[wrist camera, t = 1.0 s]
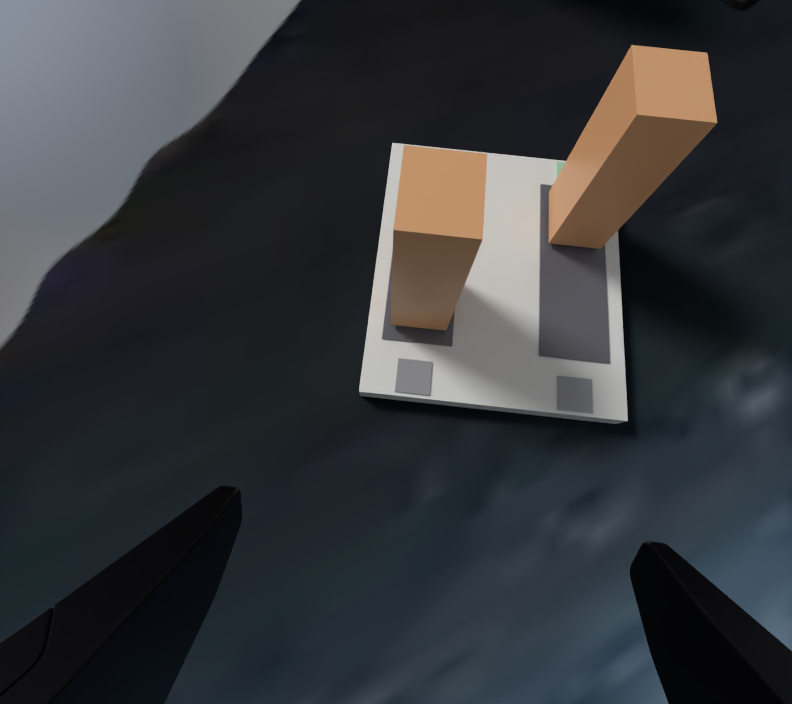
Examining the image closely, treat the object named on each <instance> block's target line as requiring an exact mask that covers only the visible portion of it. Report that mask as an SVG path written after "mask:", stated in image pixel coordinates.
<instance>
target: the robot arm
mask: <svg viewBox="0 0 792 704" xmlns="http://www.w3.org/2000/svg"><path fill="white" fill-rule="evenodd" d="M241 521H242V506H241V493H240V490H239V489H238V488H237V487H229V486H220V487H218V488H216V489H215V490H213V491H212V492H211V493H209V494H208V495H206V496H205V497H204V498H202V499H201V500H199V501H198V502H197V503H195V504H194V505H193V506H191V507H190V508H188V509H187V510H186V511H184V512H183V513H181V514H180V515H179V516H177V517H176V518H174V519H173V520H172V521H170V522H169V523H168V524H166V525H165V526H163V527H162V528H161V529H159V530H158V531H156V532H155V533H154V534H152V535H151V536H149V537H148V538H147V539H145V540H144V541H143V542H141V543H140V544H138V545H137V546H136V547H134V548H133V549H131V550H130V551H129V552H127V553H126V554H124V555H123V556H122V557H120V558H119V559H118V560H116V561H115V562H113V563H112V564H111V565H109V566H108V567H106V568H105V569H104V570H102V571H101V572H99V573H98V574H97V575H95V576H94V577H93V578H91V579H90V580H88V581H87V582H86V583H84V584H83V585H81V586H80V587H79V588H77V589H76V590H74V591H73V592H72V593H70V594H69V595H68V596H66V597H65V598H63V599H62V600H61V601H59V602H58V603H56V604H55V605H54V608H50V609H48V610H46V611H45V612H44V613H42V614H41V615H40V616H38V617H37V618H35V619H34V620H33V621H31V622H30V623H28V624H27V625H26V626H24V627H23V628H21V629H20V630H18V631H17V632H16V633H14V634H13V635H11V636H10V637H8V638H7V639H5V640H4V641H3V642H1V643H0V704H164V703H165V701H166V699H167V697H168V695H169V692H170V690H171V688H172V686H173V684H174V682H175V680H176V678H177V676H178V674H179V671H180V669H181V667H182V665H183V663H184V661H185V659H186V657H187V655H188V653H189V650H190V648H191V646H192V644H193V642H194V640H195V638H196V636H197V634H198V632H199V629H200V627H201V625H202V623H203V621H204V619H205V617H206V615H207V613H208V611H209V609H210V606H211V604H212V602H213V600H214V597H215V595H216V592H217V590H218V587H219V584H220V581H221V579H222V576H223V573H224V570H225V567H226V565H227V562H228V559H229V556H230V553H231V551H232V548H233V545H234V542H235V539H236V537H237V534H238V531H239V528H240V525H241ZM630 578H631V582H632V586H633V589H634V593H635V597H636V601H637V605H638V608H639V612H640V616H641V620H642V623H643V627H644V631H645V635H646V639H647V642H648V646H649V649H650V653H651V656H652V659H653V662H654V664H655V667H656V670H657V673H658V676H659V678H660V681H661V684H662V687H663V689H664V692H665V695H666V698H667V700H668V703H669V704H792V651H791V650H790V649H788V648H787V647H786V646H785V645H784V644H783V643H781V642H780V641H779V640H778V639H777V638H776V637H774V636H773V635H772V634H771V633H770V632H769V631H767V630H766V629H765V628H764V627H763V626H762V625H760V624H759V623H758V622H757V621H756V620H755V619H753V618H752V617H751V616H750V615H749V614H748V613H746V612H745V611H744V610H743V609H742V608H741V607H739V606H738V605H737V604H736V603H735V602H734V601H732V600H731V599H730V598H729V597H728V596H727V595H725V594H724V593H723V592H722V591H721V590H720V589H718V588H717V587H716V586H715V585H714V584H713V583H711V582H710V581H709V580H708V579H707V578H706V577H704V576H703V575H702V574H701V573H700V572H698V571H697V570H696V569H695V568H694V567H693V566H691V565H690V564H689V563H688V562H687V561H686V560H684V559H683V558H682V557H681V556H680V555H679V554H677V553H676V552H675V551H674V550H673V549H672V548H670V547H669V546H668V545H666V544H664V543H659V542H651V541H645V542H644V543H642V545H641V547H640V549H639V551H638V553H637V554H636V556H635V558H634V560H633V562H632V564H631V567H630Z"/></svg>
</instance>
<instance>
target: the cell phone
mask: <svg viewBox="0 0 792 704" xmlns="http://www.w3.org/2000/svg"><path fill="white" fill-rule="evenodd" d="M721 1H722V2H724V3H725V4H727V5H729V6H730V7H732V8H735V9H739V8H741V7H742V6H744V5H745V4H746V3H747V2H749V1H750V0H721Z"/></svg>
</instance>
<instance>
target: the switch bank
mask: <svg viewBox="0 0 792 704" xmlns="http://www.w3.org/2000/svg"><path fill="white" fill-rule="evenodd" d="M404 145H407V144H398V143H392V150H391V157H390V164H389V172H388V179H387V187H386V194H385V202H384V209H383V216H382V224H381V231H380V239H379V246H378V254H377V261H376V268H375V276H374V283H373V291H372V298H371V306H370V313H369V320H368V328H367V335H366V343H365V350H364V358H363V365H362V372H361V380H360V387H359V393H360V396H365V397H374V398H384V399H393V400H402V401H411V402H420V403H429V404H438V405H447V406H456V407H465V408H474V409H483V410H493V411H502V412H511V413H520V414H529V415H538V416H547V417H556V418H565V419H574V420H583V421H592V422H602V423H611V424H618V423H622V422H626V421H628V413H627V394H626V375H625V356H624V337H623V318H622V299H621V280H620V261H619V242H618V231H617V232H616V233H615V234H614V235H613V236H612V237H611V238H610V239H609V240H608V242H607V243H606V244H605V245H604V246H603V247H602V248H601V249H597V248H588V247H578V246H569V245H560V244H550V243H549V191H550V189H551V187H552V186H553V184H554V182H555V180H556V179H557V177H558V175H559V173H560V171H561V170H562V168H563V166H564V164H565V163H566V161H560V160H550V159H541V158H531V157H522V156H512V155H503V154H493V153H484V152H474V151H465V152H474V153H484V154H487V169H486V188H485V206H484V225H483V240H482V242H481V245H480V247H479V250H478V252H477V255H476V257H475V260H474V262H473V265H472V267H471V270H470V272H469V275H468V277H467V280H466V282H465V285H464V287H463V290H462V292H461V295H460V297H459V300H458V302H457V305H456V307H455V310H454V312H453V315H452V317H451V320H450V322H449V325H448V327H447V330H446V331H444V330H435V329H425V328H416V327H407V326H398V325H390V321H391V289H392V257H393V228H394V220H395V212H396V204H397V196H398V188H399V180H400V172H401V164H402V156H403V148H404ZM407 146H417V145H407ZM417 147H426V146H417ZM426 148H436V147H426ZM436 149H445V148H436ZM446 150H455V149H446ZM455 151H464V150H455Z"/></svg>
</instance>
